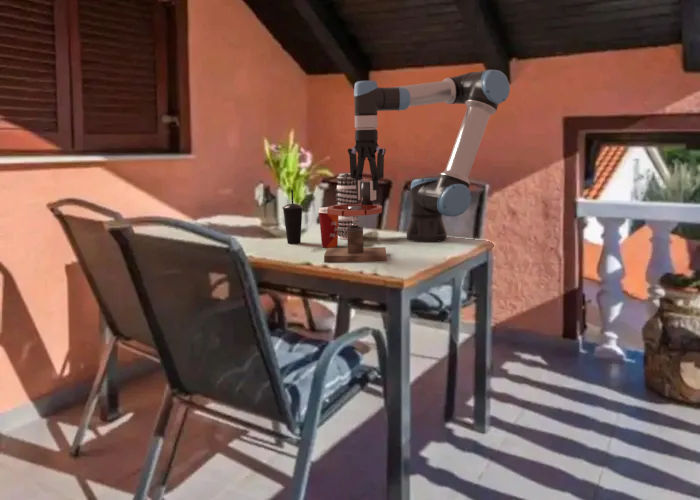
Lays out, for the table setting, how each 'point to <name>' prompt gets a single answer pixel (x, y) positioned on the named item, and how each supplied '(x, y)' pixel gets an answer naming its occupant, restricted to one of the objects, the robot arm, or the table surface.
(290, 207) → the drinking cup
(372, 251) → the brown block
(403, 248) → the table surface
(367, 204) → the handwheel
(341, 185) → the decorative candle
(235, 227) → the table surface
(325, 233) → the paper cup
